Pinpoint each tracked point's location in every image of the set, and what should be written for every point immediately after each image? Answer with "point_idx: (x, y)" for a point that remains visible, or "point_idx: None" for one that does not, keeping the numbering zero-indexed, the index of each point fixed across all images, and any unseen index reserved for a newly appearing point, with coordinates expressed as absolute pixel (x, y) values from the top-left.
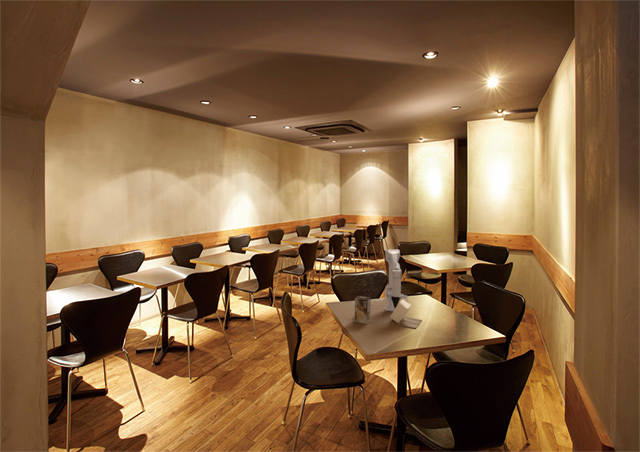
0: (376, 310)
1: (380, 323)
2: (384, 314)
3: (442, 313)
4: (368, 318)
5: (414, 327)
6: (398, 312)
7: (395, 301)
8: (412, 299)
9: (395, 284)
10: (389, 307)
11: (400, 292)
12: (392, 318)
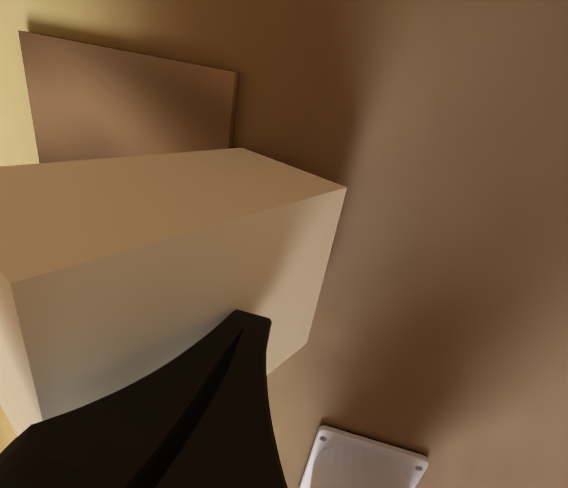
0: (519, 448)
1: (487, 40)
2: (426, 364)
3: (16, 437)
4: None
5: (34, 47)
6: (179, 185)
7: (171, 413)
8: None
9: None
10: (378, 480)
11: None
12: (310, 175)
